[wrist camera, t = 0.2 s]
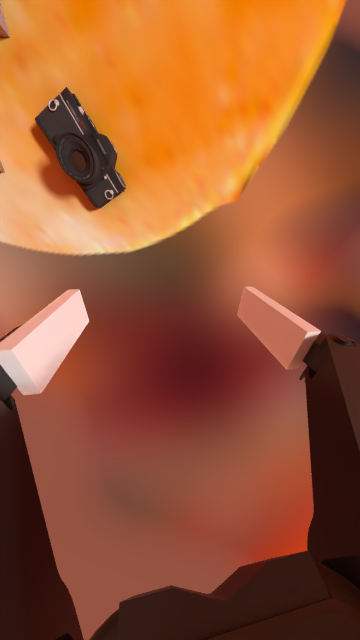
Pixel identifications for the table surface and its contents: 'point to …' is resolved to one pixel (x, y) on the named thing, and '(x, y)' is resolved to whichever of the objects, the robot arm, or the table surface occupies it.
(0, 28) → the grey tall block
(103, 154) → the film camera
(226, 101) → the table surface
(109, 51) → the table surface
